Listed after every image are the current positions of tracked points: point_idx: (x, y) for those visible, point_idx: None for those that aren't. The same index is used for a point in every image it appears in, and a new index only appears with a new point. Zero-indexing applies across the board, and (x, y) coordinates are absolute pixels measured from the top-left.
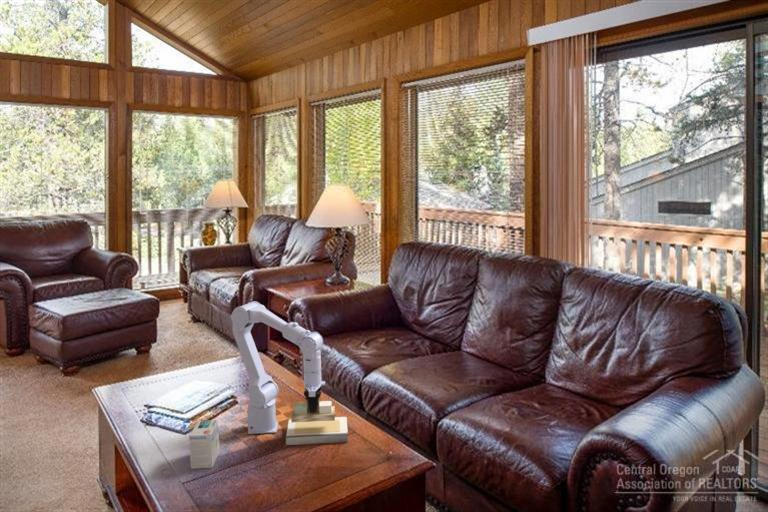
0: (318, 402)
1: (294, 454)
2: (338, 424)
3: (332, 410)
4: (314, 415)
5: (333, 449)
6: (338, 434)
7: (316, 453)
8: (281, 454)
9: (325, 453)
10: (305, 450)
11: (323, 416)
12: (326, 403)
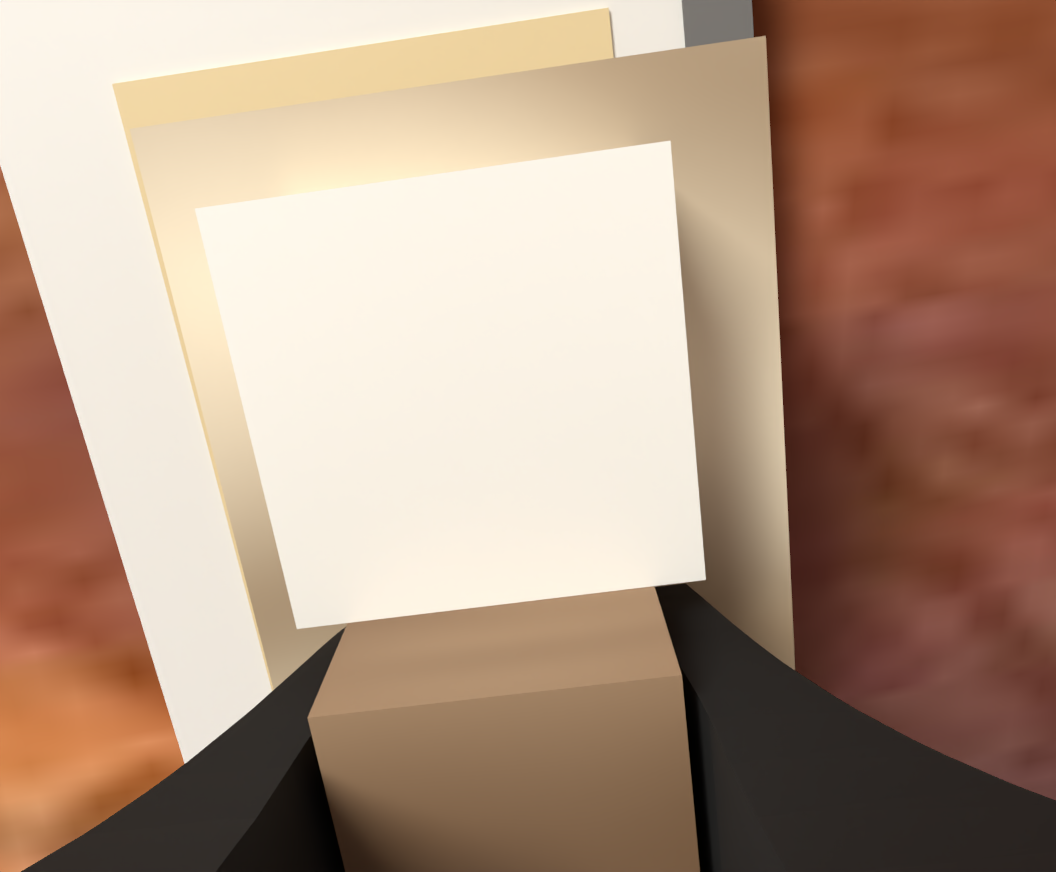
0: (670, 668)
1: (1014, 602)
2: (313, 79)
3: (456, 151)
4: (783, 586)
5: (938, 99)
6: (731, 21)
7: (1028, 334)
8: (993, 740)
9: (1046, 205)
10: (924, 491)
11: (771, 359)
12: (463, 367)
